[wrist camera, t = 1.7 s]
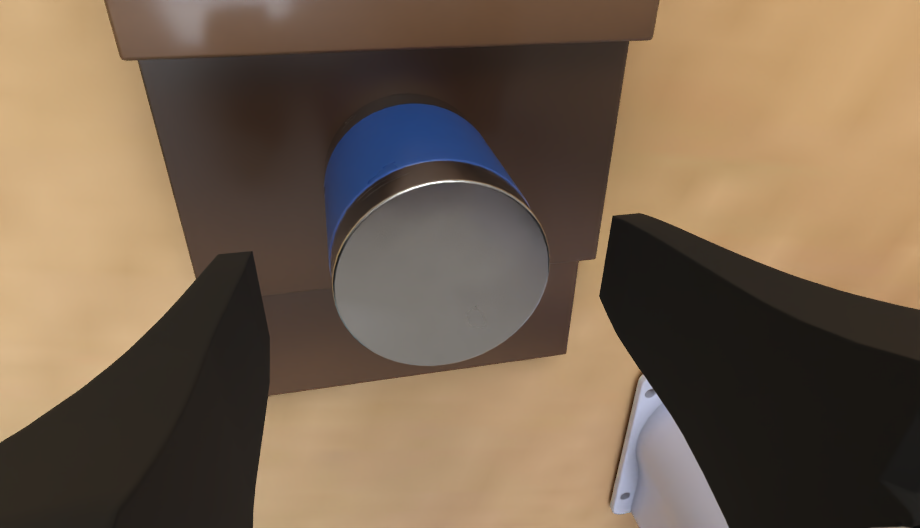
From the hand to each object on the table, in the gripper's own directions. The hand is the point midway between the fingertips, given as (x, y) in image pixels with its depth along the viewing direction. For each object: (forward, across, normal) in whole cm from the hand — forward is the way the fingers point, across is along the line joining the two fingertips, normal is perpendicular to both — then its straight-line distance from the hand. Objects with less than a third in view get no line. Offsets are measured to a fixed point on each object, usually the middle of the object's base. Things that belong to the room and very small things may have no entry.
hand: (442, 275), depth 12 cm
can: (+5, 0, 0) cm, 5 cm away
